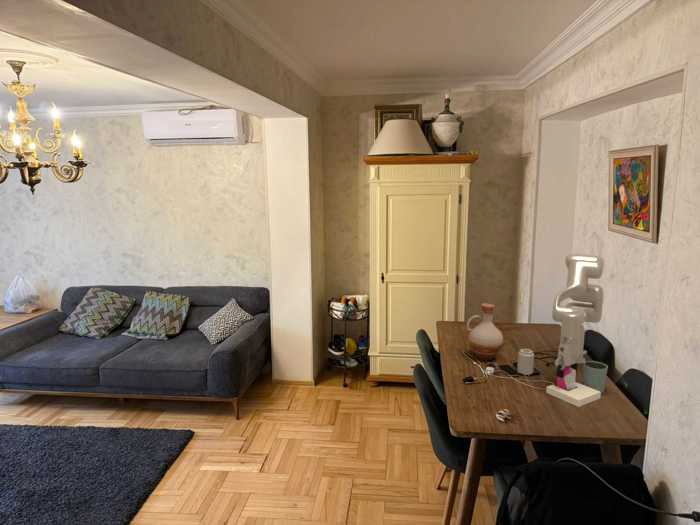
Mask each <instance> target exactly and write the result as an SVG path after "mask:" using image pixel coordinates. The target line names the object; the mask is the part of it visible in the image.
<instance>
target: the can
mask: <svg viewBox="0 0 700 525" xmlns="http://www.w3.org/2000/svg"><path fill="white" fill-rule="evenodd" d="M534 362H535V353H534V351H533V350H532V349H530V348H521V349H520V350H519V351H518V354H517V366H516V367H517V368H516V369H517V370H516V371H517V373H518V374H519V373H521V374H524V375H523V376H526V375H528V376H531V375H532V374H533V373H534V364H535V363H534ZM521 374H520V375H521ZM530 374H531V375H530Z"/></svg>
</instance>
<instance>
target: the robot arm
mask: <svg viewBox="0 0 700 525" xmlns="http://www.w3.org/2000/svg"><path fill="white" fill-rule="evenodd" d="M564 261H565V262H564V263H565V266H566V268H567V270H568V272H567V280H566V286H565V287H564V288H563V289H562V290H560V291H559V293H557V295H556V296H555V297H554V299H553V300H554V301H553V306H552V312H551V314H552V315H551V316H552V320H553V321H554V322H557V323H561V324H560V326H561V327H560V328H561V329H560V340H559V345H558V350H557V351H558V352H557V358H556V359H555V360H554V366H555V368H556V374H555V376H556V377H557V376H558V377H560V378H563V376H564V370H563V368H564V367H565V366H570V367H571V368H573V369H574V370H576V374H578V365H580V364H583V363H584V362H586V357H584V355H586V354H587V353H588V351H587V350H585V349H584V345H585V344H584V343H585V332H586V330H585V327H584V325H583V324H584V323H585V322H586V323H594V324H595V323H596V324H597V323H600V322H601V320H602V317H603V315H602V314H603V304H604V289H603V287H602V286H600V285H599V284H591V283H589V279H593V280H594V279H595V280H597V279H600V278H601V277H602V275H603V272H604V267H605V266H604V265H605V261H604V258H603V257H602V256H600V255H591V254H589V255H587V254H578V253H577V254H576V253H575V254H573V253H572V254H568V255H566V257H565V259H564ZM566 299H570V300H572V301H575V302H568V303H567V304H566V305H565V306H564V305H561V303H562V302H563V301H564V300H566Z"/></svg>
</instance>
